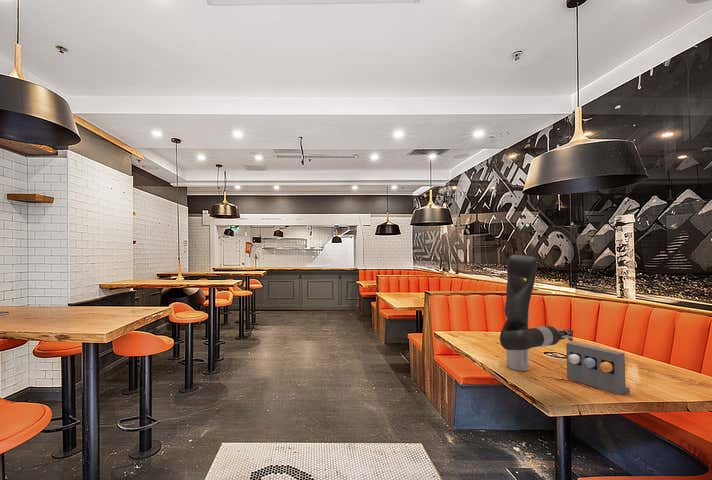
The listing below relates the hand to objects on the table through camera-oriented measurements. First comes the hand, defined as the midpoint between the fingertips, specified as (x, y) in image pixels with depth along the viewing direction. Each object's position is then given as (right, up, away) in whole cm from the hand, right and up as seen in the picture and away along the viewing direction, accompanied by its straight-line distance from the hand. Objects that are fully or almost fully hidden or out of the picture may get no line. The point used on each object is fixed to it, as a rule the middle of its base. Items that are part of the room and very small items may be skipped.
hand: (570, 332), depth 143 cm
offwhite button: (+9, -17, +11) cm, 22 cm away
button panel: (+16, -25, +7) cm, 30 cm away
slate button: (+12, -16, +5) cm, 21 cm away
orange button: (+15, -16, 0) cm, 22 cm away
